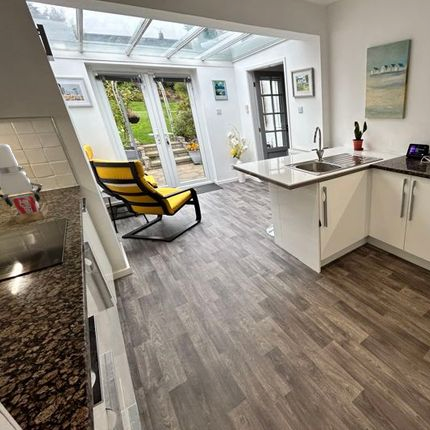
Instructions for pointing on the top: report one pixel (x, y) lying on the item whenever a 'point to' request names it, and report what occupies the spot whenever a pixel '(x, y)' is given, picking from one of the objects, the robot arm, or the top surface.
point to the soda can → (25, 204)
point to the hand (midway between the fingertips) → (25, 203)
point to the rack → (32, 214)
